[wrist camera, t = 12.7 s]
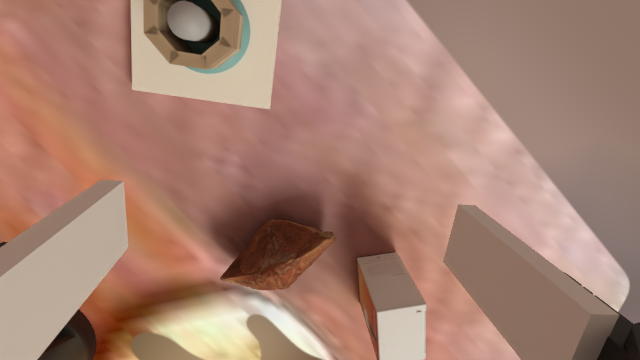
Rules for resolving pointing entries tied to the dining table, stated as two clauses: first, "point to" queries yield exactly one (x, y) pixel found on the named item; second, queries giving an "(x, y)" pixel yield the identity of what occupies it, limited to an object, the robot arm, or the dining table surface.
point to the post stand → (200, 34)
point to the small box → (392, 308)
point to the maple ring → (176, 48)
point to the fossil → (277, 255)
